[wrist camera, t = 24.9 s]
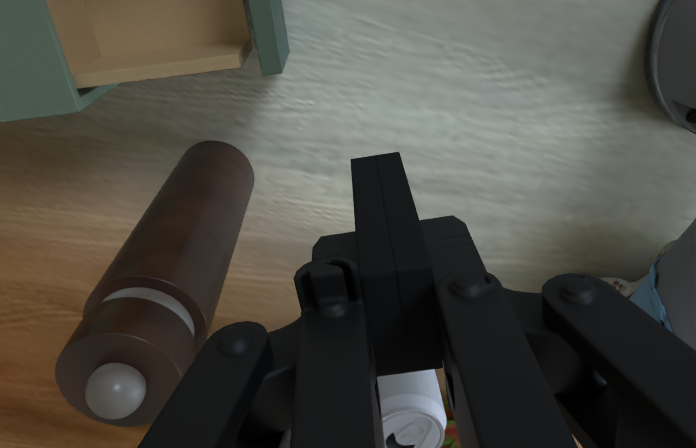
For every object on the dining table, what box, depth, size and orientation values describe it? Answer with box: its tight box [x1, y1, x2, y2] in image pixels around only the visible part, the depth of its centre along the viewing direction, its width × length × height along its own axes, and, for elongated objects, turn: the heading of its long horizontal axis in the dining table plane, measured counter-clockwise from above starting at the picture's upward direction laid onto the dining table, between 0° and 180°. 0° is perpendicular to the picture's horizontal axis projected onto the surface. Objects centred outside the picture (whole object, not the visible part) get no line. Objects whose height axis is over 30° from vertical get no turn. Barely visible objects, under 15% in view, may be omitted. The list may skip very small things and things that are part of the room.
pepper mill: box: [55, 141, 254, 427], centre depth 33 cm, size 6×6×24 cm
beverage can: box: [377, 369, 446, 448], centre depth 47 cm, size 6×6×12 cm
